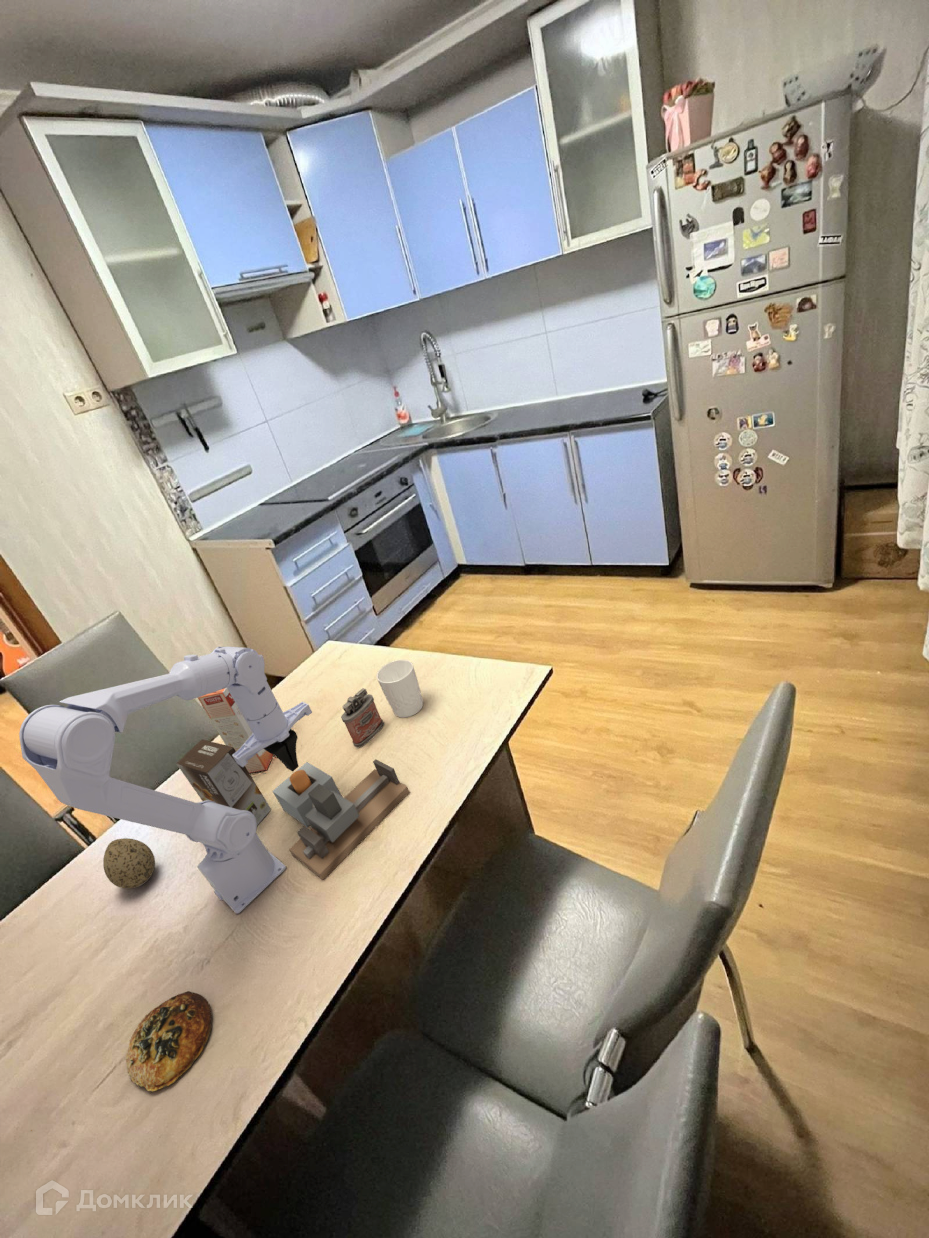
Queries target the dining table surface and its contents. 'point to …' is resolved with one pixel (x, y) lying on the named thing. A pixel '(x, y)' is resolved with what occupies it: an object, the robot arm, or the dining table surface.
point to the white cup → (401, 687)
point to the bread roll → (168, 1040)
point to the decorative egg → (128, 863)
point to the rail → (372, 805)
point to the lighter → (361, 718)
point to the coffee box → (222, 778)
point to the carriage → (330, 813)
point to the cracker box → (232, 726)
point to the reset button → (300, 781)
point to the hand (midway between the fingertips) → (292, 767)
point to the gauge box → (303, 803)
